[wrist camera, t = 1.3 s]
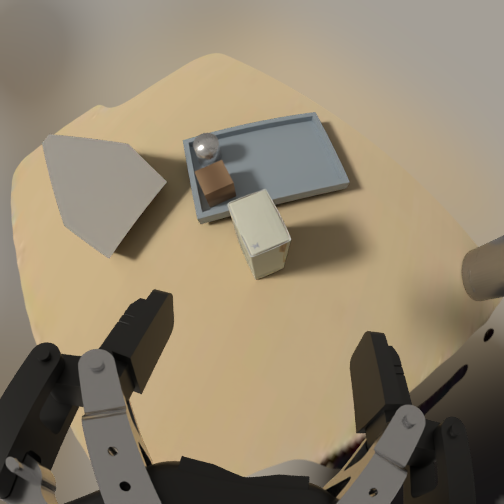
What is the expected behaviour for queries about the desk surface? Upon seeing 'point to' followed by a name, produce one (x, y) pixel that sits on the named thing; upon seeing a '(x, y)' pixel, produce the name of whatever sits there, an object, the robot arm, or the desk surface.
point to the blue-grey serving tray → (271, 162)
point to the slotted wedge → (99, 187)
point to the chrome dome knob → (207, 149)
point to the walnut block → (216, 183)
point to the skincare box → (260, 232)
